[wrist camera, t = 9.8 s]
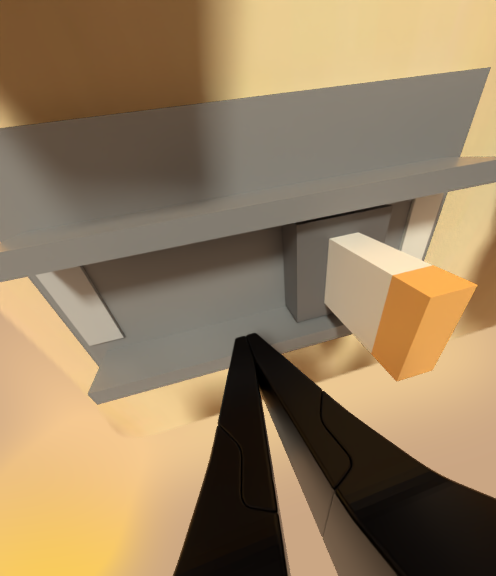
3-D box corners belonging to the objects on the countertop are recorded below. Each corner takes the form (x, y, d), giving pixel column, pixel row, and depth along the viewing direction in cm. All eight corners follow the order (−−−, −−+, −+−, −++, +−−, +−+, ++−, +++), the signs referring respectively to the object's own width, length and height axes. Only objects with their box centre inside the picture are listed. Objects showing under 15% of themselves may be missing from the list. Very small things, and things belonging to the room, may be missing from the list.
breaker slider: (365, 199, 12) (545, 240, 6) (351, 287, 15) (459, 374, 9) (281, 215, 12) (385, 280, 5) (285, 303, 15) (353, 408, 9)
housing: (468, 73, 11) (586, 38, 8) (394, 311, 20) (436, 342, 16) (-54, 140, 8) (-218, 128, 5) (125, 384, 17) (109, 440, 14)
